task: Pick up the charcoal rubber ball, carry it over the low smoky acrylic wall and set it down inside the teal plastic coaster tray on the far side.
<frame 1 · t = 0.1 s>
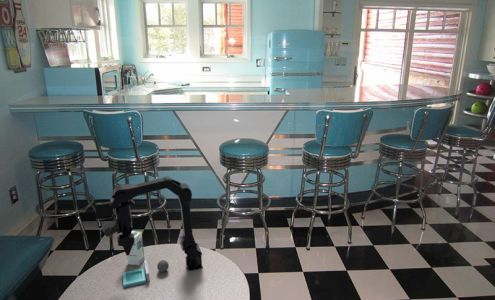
hand: (127, 249, 146), 15 cm above the table, fingers open, 9 cm apart
ball: (163, 270, 156), on the table
syrup box: (136, 261, 163), on the table
coaster: (134, 278, 150), on the table
acrylic wall: (147, 274, 153), on the table
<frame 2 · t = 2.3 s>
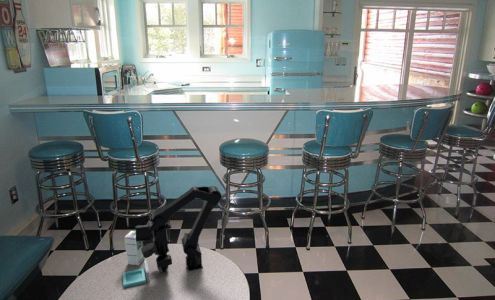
hand: (163, 268, 155), 1 cm above the table, fingers closed on ball, 5 cm apart
ball: (163, 270, 156), on the table, touching gripper
everything else where it was.
when the fingers open (4 cm above the table, at t = 5.8 s): ball drops 3 cm, resting on coaster.
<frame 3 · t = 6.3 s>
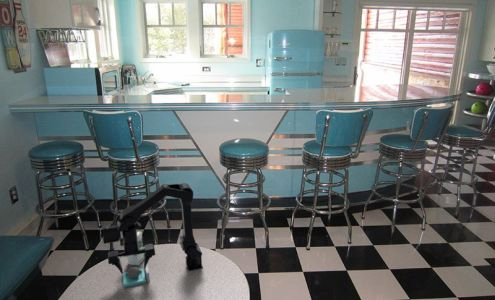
hand: (133, 270, 149), 4 cm above the table, fingers open, 9 cm apart
ball: (134, 277, 150), resting on coaster
everything else where it was.
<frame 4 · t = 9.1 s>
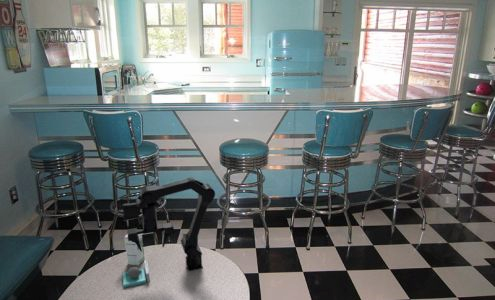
hand: (152, 249, 150), 13 cm above the table, fingers open, 9 cm apart
nothing on the table moved.
at the end: ball 0.1 cm off-centre on the coaster, point 0.5 cm above the coaster's base; the gripper is holding nothing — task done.
